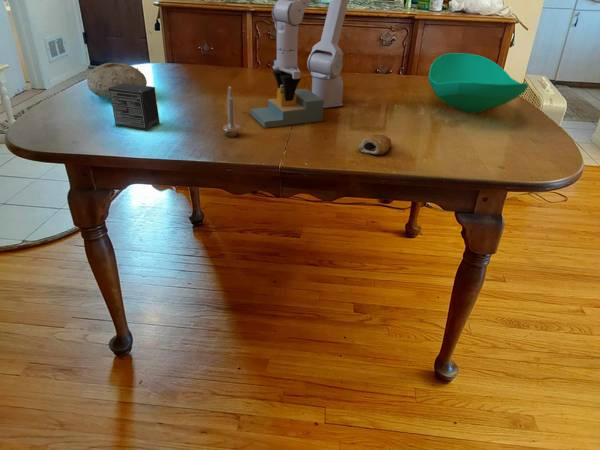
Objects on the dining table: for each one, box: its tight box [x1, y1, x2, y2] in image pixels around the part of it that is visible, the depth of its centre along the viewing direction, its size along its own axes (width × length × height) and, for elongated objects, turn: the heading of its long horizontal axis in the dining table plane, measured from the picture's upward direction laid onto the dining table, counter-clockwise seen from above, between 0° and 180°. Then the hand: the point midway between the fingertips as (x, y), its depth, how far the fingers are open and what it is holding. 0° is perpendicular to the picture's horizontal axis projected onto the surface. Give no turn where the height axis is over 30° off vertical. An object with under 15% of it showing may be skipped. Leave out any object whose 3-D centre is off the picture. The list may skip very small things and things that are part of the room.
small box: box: [108, 83, 161, 132], centre depth 123 cm, size 11×6×10 cm, turn 71°
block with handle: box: [276, 85, 296, 106], centre depth 131 cm, size 5×4×6 cm
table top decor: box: [428, 52, 529, 114], centre depth 143 cm, size 40×28×13 cm
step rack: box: [250, 88, 324, 129], centre depth 133 cm, size 18×12×6 cm, turn 114°
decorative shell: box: [86, 61, 148, 99], centre depth 144 cm, size 18×18×10 cm
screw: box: [222, 85, 242, 138], centre depth 118 cm, size 13×5×5 cm
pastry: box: [358, 134, 392, 156], centre depth 115 cm, size 9×7×4 cm
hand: (286, 98), depth 131 cm, fingers closed on block with handle, 3 cm apart
